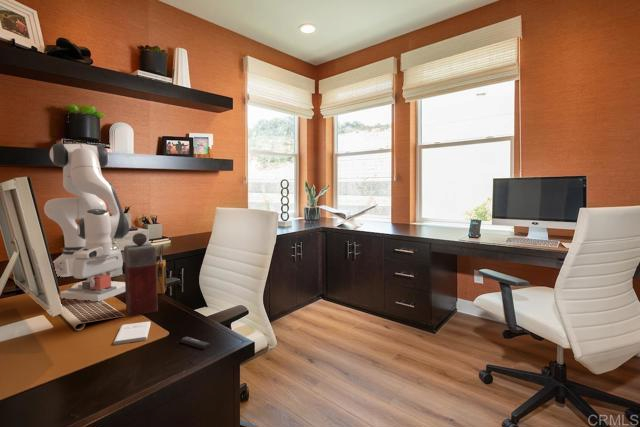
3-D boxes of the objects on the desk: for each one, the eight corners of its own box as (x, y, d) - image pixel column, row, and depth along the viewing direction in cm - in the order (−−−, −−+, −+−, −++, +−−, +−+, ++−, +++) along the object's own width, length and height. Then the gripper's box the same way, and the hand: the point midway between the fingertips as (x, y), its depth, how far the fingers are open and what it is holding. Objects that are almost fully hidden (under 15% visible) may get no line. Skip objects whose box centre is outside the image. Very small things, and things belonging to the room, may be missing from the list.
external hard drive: (113, 346, 93) (121, 329, 105) (146, 342, 96) (150, 325, 108) (113, 341, 93) (121, 324, 104) (146, 336, 96) (150, 320, 108)
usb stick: (211, 347, 93) (211, 342, 93) (203, 351, 90) (203, 346, 90) (187, 340, 97) (187, 334, 97) (179, 343, 95) (179, 338, 95)
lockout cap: (90, 288, 132) (89, 276, 132) (100, 285, 137) (100, 273, 137) (100, 289, 131) (100, 277, 131) (111, 286, 136) (110, 274, 136)
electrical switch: (102, 279, 161) (100, 260, 161) (98, 278, 165) (97, 259, 164) (123, 275, 169) (121, 257, 169) (119, 274, 172) (117, 256, 172)
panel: (60, 298, 132) (60, 289, 132) (99, 285, 150) (99, 278, 150) (98, 301, 128) (97, 292, 128) (133, 288, 146) (133, 280, 146)
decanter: (151, 302, 128) (149, 230, 126) (157, 311, 119) (155, 233, 117) (125, 307, 123) (122, 231, 121) (129, 316, 114) (126, 235, 112)
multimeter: (142, 288, 146) (141, 243, 145) (167, 286, 149) (166, 242, 148) (135, 299, 132) (133, 249, 131) (163, 296, 135) (161, 248, 134)
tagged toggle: (82, 290, 134) (82, 281, 134) (89, 288, 137) (88, 279, 137) (89, 291, 133) (88, 282, 133) (95, 288, 136) (95, 280, 136)
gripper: (113, 245, 144) (114, 277, 145) (68, 254, 124) (70, 290, 125) (126, 246, 142) (127, 278, 143) (82, 255, 122) (84, 292, 123)
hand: (100, 284), depth 134 cm, fingers closed on lockout cap, 5 cm apart
